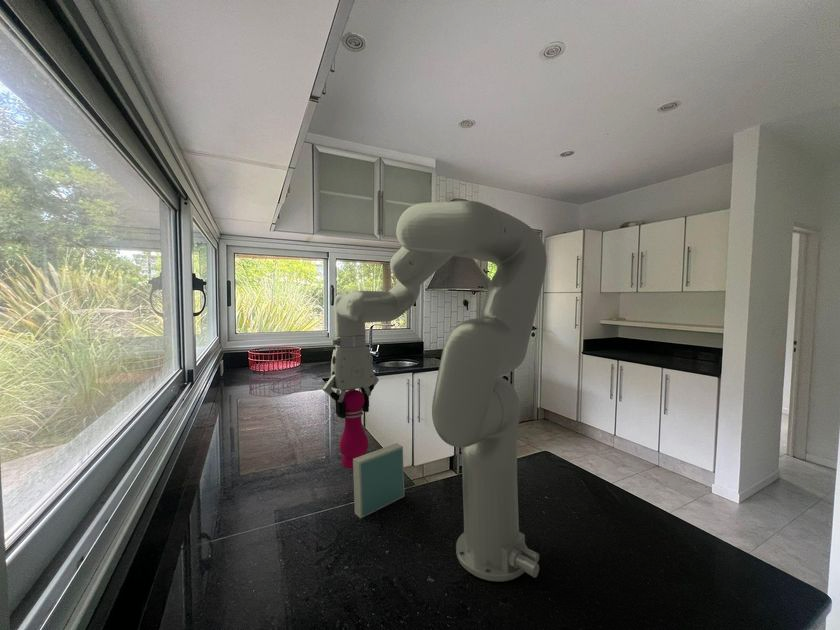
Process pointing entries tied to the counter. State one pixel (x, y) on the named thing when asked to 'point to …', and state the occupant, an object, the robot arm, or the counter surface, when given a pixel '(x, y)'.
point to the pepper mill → (353, 429)
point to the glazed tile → (378, 479)
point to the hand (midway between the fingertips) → (353, 413)
